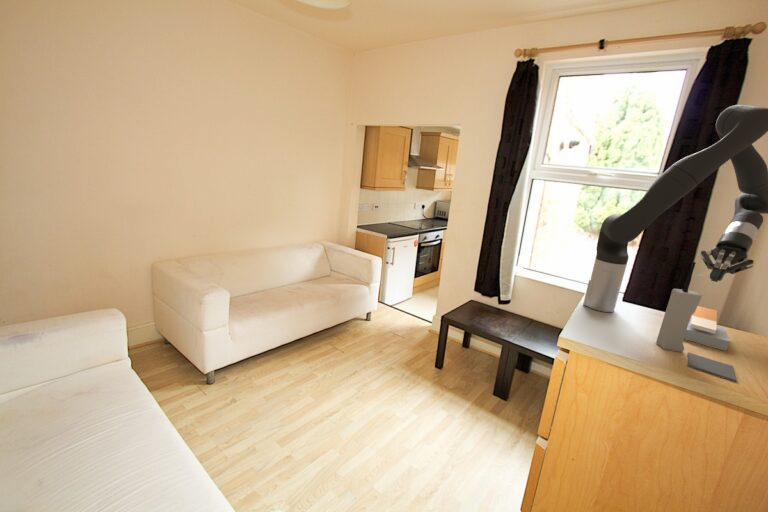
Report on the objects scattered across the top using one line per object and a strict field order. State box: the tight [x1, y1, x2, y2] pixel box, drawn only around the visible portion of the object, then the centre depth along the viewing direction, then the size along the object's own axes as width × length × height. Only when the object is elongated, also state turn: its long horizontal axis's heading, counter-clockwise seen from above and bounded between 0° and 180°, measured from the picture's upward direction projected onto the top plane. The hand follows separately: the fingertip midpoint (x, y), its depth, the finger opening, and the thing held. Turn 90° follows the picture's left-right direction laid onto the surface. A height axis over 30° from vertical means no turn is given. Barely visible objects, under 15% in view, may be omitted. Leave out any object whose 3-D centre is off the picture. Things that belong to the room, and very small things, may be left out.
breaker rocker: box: [690, 305, 718, 334], centre depth 106 cm, size 6×12×1 cm, turn 140°
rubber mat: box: [686, 352, 738, 383], centre depth 89 cm, size 9×9×1 cm
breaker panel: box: [683, 318, 730, 352], centre depth 107 cm, size 12×13×4 cm
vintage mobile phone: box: [655, 261, 703, 353], centre depth 95 cm, size 4×5×25 cm
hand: (714, 279), depth 108 cm, fingers closed
